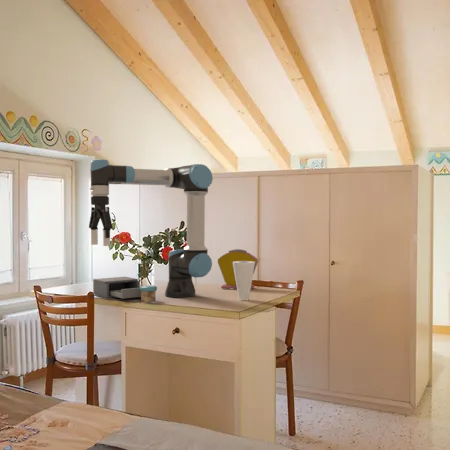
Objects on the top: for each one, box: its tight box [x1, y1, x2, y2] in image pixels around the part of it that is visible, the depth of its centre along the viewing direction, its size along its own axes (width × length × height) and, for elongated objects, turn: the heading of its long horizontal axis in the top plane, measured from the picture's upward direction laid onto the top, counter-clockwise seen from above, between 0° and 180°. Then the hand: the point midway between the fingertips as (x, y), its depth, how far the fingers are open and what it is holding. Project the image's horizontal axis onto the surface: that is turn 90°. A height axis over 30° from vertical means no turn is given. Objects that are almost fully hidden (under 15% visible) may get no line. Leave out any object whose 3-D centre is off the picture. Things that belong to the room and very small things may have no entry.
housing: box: [92, 276, 141, 299], centre depth 279 cm, size 18×16×8 cm
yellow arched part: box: [217, 248, 258, 290], centre depth 301 cm, size 22×9×22 cm, turn 76°
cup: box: [233, 261, 255, 301], centre depth 260 cm, size 11×11×18 cm
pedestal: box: [140, 290, 157, 303], centre depth 259 cm, size 5×5×5 cm
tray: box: [109, 288, 141, 300], centre depth 268 cm, size 14×15×4 cm
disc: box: [140, 285, 158, 291], centre depth 259 cm, size 8×8×2 cm
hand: (100, 245), depth 236 cm, fingers open, 13 cm apart
